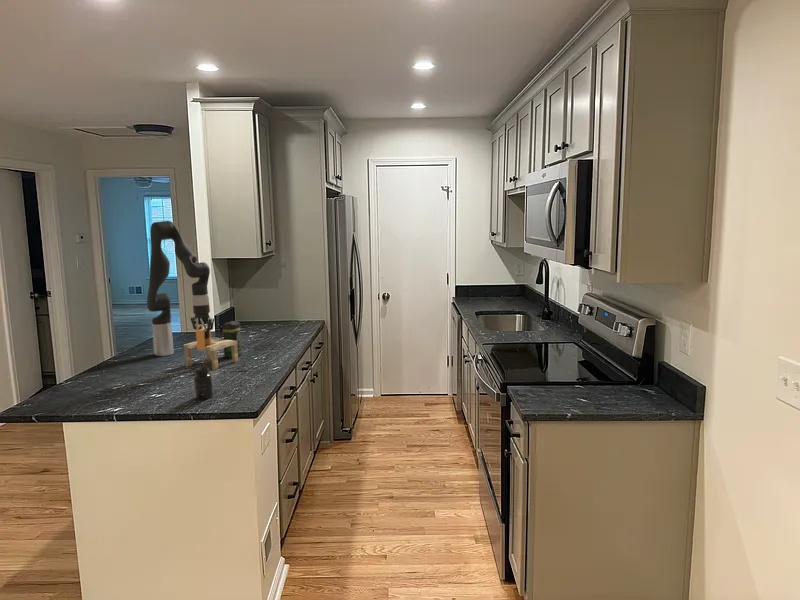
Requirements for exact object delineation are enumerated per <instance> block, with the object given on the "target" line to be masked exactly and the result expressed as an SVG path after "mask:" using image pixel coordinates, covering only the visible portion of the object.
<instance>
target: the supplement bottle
mask: <svg viewBox="0 0 800 600" xmlns="http://www.w3.org/2000/svg"><path fill="white" fill-rule="evenodd" d="M209 372H210V371H209V367H206V366H201V367H197V368H195V375H194V376H193V387H194V395H195V399H196V398H197V399H196V400H199V399H204V400H209V399H211V398H213V396H214V387H213V377H212V374H210V373H209ZM208 398H209V399H208Z"/></svg>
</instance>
